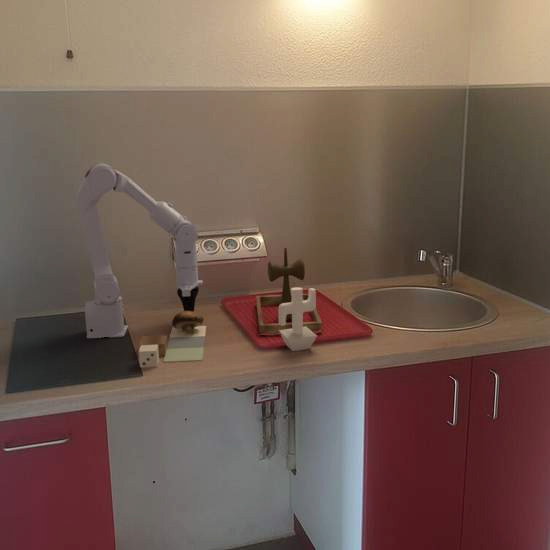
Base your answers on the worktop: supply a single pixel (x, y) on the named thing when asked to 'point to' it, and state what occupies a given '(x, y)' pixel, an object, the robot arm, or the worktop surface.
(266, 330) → the brown rectangular frame
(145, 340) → the plinth
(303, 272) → the kendama
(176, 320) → the mushroom
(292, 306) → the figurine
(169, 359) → the board
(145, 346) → the beige cube
